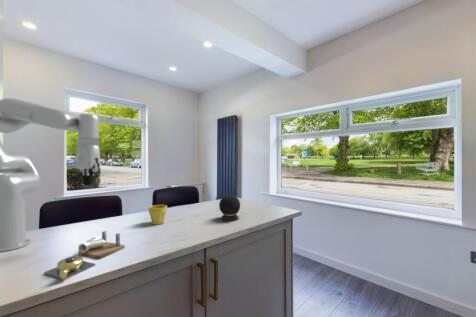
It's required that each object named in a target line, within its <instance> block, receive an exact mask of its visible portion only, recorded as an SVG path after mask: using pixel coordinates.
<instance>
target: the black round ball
mask: <svg viewBox="0 0 476 317" xmlns="http://www.w3.org/2000/svg"><path fill="white" fill-rule="evenodd" d="M218 206H219V211H220V212H221V214H222V215H221V217H220V220H221V221H222V222H223V221H224V222H235V221H239V220H240V219H239V218H240V217H239V215H237V214H238V213H239V212H240V209H241V201H240V200H239V198H238V197H237V196H236V195H234V194H226V195H225V196H223V197H221V199H220V201H219V205H218Z"/></svg>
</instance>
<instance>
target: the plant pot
mask: <svg viewBox="0 0 476 317" xmlns="http://www.w3.org/2000/svg"><path fill="white" fill-rule="evenodd" d="M167 212H168V205H166V204H156V205H155V204H154V205H150V206H148V214H149V216H150V220H151V223H152V225H154V226H155V225H157V226H158V225H163V224H164V223H165V221H166V214H167Z"/></svg>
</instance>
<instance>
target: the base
mask: <svg viewBox="0 0 476 317" xmlns="http://www.w3.org/2000/svg"><path fill="white" fill-rule="evenodd" d="M95 266H96V263H93V262H90V261H84V260H83V266H82V267H80V268H79V269H77V270H74V271H70V272H69V273H68V275H67V278H66V279H64V280H63V281H65V280H67V279H70V278H71V277H73V276H77V275H78V274H80V273H82V272H84V271H86V270H88V269H90V268H92V267H95ZM43 274H44V275H45V276H49V277H52V278H56V279H58V280H60V272H58V271H57V266H56V267H53V268H51V269H48V270H45V271H44V272H43Z"/></svg>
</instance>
